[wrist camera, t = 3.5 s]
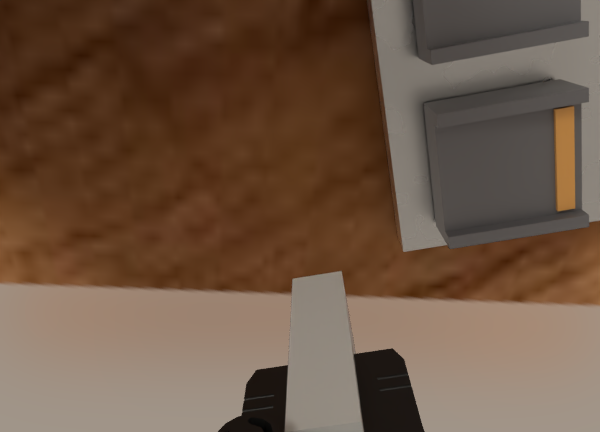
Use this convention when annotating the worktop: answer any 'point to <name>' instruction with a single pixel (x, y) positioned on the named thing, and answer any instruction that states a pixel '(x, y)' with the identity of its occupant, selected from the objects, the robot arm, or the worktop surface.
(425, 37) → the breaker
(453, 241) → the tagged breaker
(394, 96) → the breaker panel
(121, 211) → the worktop surface
